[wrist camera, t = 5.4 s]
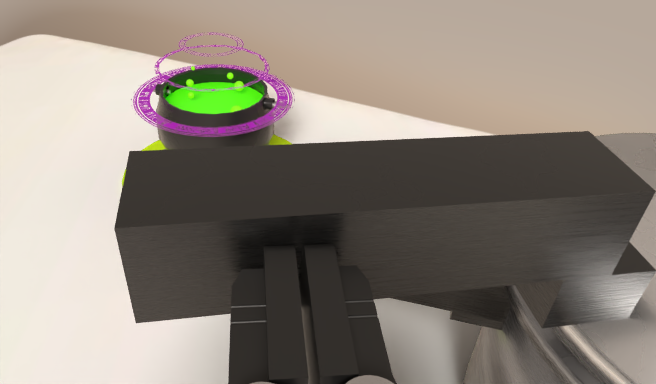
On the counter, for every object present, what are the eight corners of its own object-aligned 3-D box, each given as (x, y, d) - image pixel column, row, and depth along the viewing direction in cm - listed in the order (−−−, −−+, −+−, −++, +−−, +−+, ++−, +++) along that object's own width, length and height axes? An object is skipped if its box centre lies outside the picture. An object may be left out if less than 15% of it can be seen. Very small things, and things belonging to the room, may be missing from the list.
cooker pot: (830, 348, 33) (971, 206, 26) (1138, 823, 17) (1663, 767, 11) (291, 238, 37) (296, 95, 31) (163, 533, 22) (118, 374, 16)
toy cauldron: (325, 140, 49) (334, 20, 42) (292, 251, 37) (297, 107, 30) (166, 119, 50) (151, -1, 43) (84, 220, 38) (45, 75, 31)
